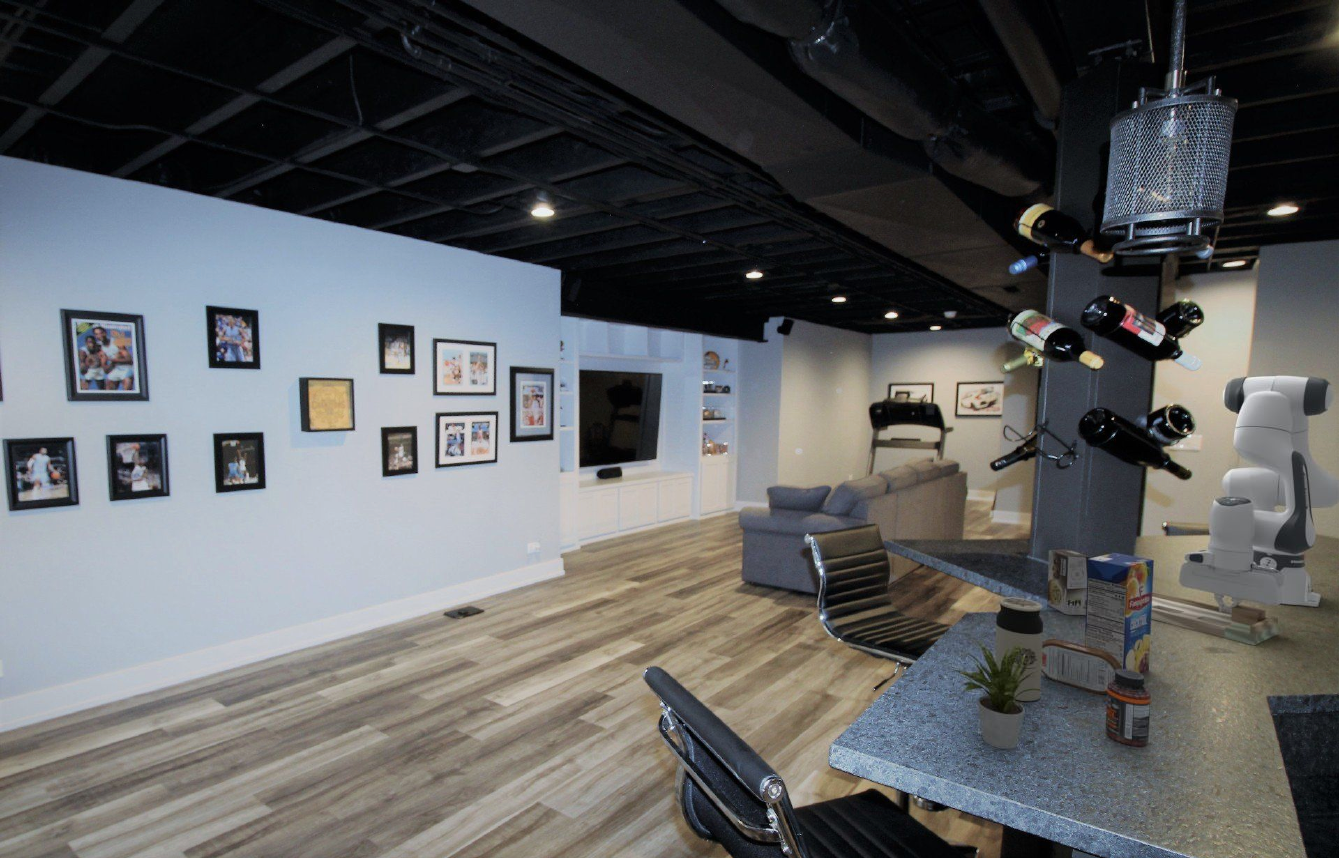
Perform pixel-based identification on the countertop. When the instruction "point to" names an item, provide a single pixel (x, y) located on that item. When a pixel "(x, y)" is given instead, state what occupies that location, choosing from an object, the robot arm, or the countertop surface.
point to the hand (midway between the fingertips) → (1227, 612)
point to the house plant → (999, 698)
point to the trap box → (1209, 619)
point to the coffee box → (1067, 581)
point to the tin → (1078, 665)
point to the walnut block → (1247, 615)
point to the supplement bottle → (1128, 708)
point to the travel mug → (1021, 641)
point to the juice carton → (1120, 608)
